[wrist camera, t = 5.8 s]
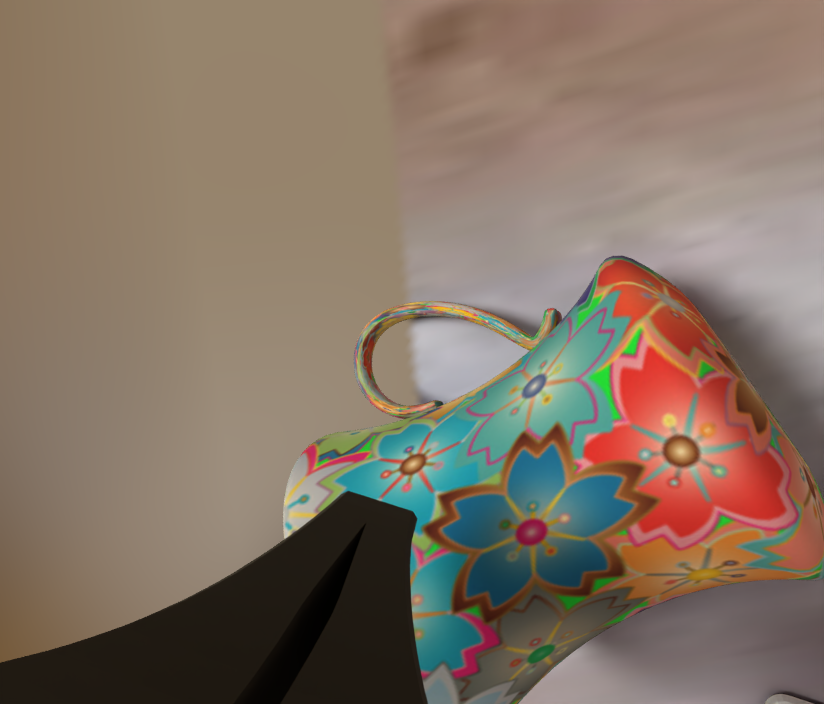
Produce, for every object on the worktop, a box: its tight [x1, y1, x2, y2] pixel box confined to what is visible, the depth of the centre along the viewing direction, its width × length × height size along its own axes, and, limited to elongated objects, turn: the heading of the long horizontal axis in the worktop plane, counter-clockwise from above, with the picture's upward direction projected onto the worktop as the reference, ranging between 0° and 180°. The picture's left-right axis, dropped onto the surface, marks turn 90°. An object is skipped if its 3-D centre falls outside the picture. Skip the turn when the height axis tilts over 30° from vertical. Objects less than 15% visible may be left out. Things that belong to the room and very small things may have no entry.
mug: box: [283, 256, 824, 704], centre depth 19 cm, size 12×9×11 cm
